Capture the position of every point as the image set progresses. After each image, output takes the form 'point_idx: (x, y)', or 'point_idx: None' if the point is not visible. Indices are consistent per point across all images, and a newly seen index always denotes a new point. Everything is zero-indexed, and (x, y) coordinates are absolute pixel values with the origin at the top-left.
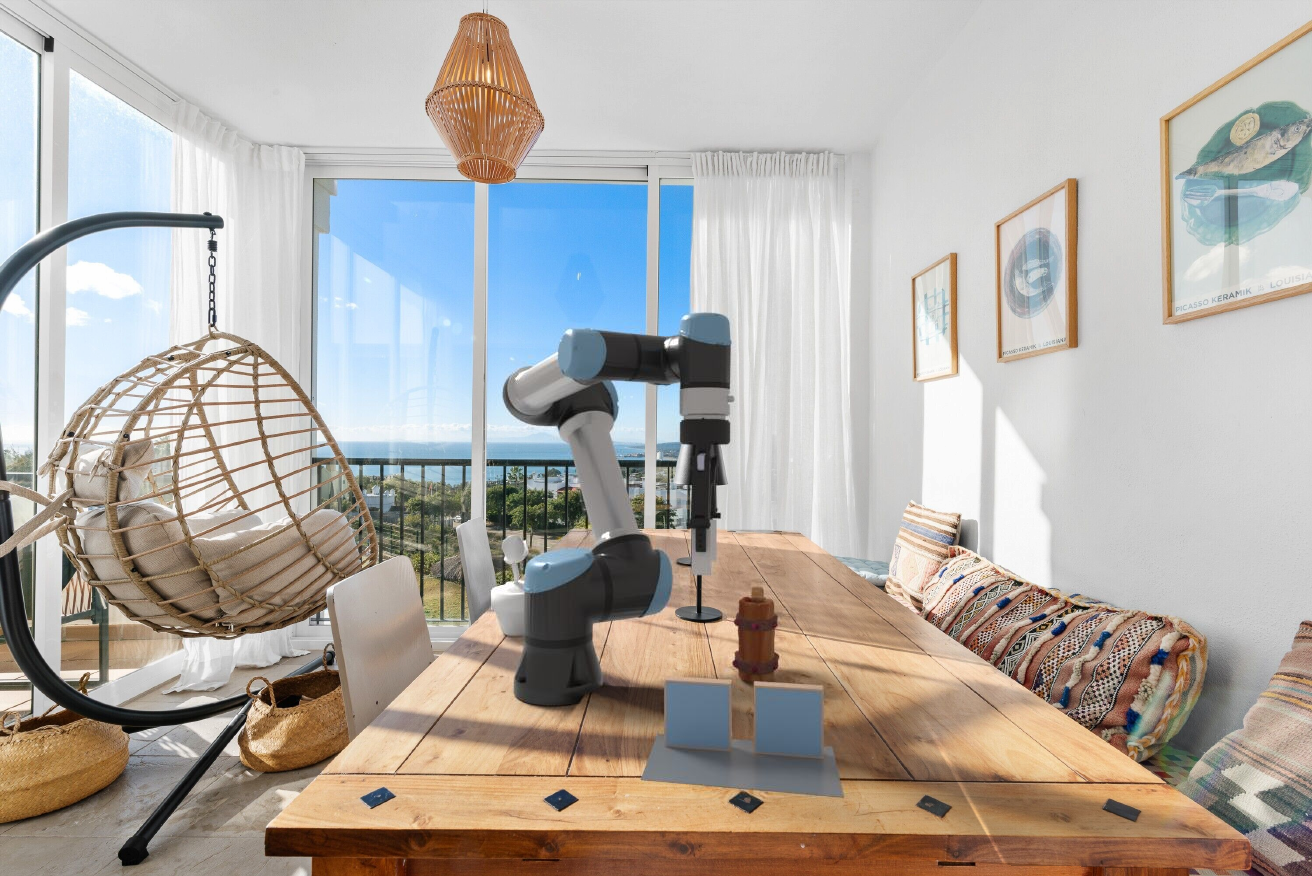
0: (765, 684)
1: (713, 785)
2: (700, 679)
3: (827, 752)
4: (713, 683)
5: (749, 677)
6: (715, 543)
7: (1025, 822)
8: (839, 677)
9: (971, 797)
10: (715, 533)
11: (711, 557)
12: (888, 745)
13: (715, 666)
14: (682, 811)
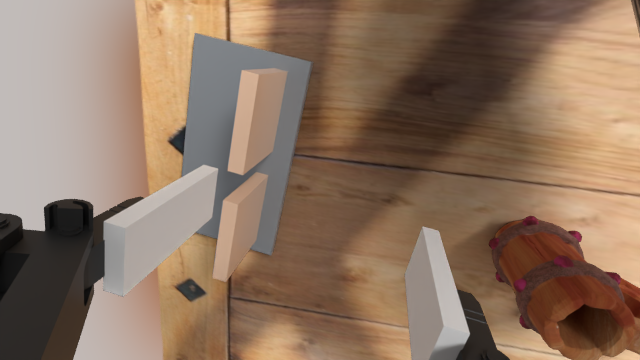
0: (226, 215)
1: (188, 114)
2: (243, 129)
3: (258, 245)
4: (231, 146)
5: (500, 230)
6: (409, 311)
7: (173, 334)
8: (501, 348)
9: (204, 322)
10: (411, 339)
11: (409, 269)
12: (294, 309)
13: (608, 194)
14: (165, 77)
